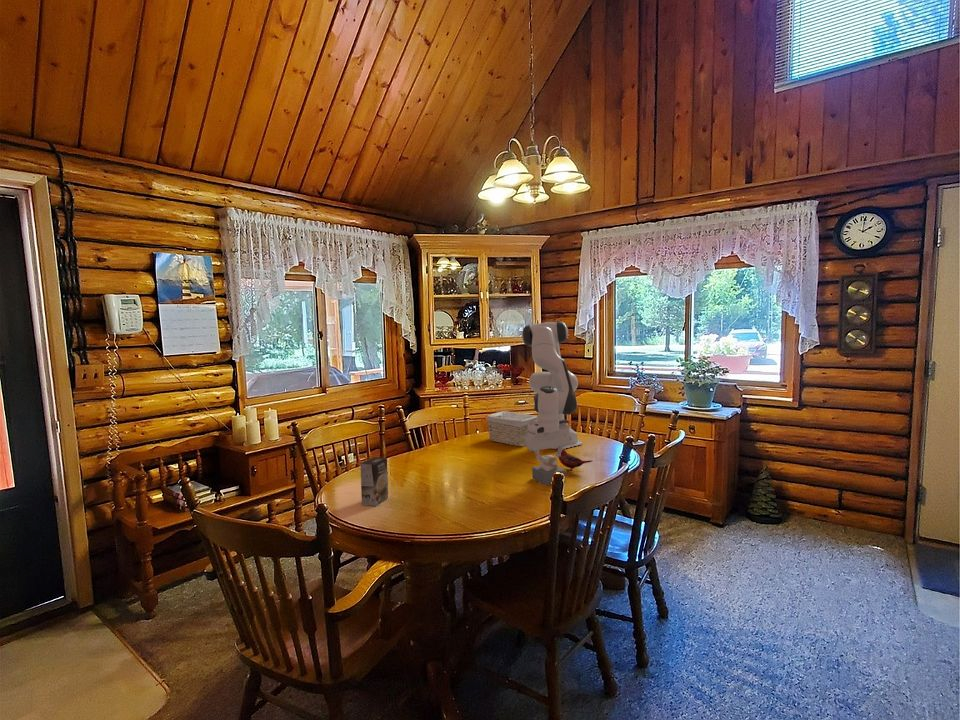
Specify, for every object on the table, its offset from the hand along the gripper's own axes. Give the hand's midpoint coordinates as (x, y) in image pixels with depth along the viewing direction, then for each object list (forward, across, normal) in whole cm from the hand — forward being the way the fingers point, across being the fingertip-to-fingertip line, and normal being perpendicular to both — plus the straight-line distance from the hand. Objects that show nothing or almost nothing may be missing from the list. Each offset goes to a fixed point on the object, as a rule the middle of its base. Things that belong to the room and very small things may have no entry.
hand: (548, 458), depth 213 cm
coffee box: (+10, +71, -11) cm, 73 cm away
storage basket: (+10, -17, -62) cm, 66 cm away
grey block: (+10, 0, 0) cm, 10 cm away
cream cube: (+4, 0, 0) cm, 5 cm away
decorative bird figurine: (+10, -16, -4) cm, 19 cm away
